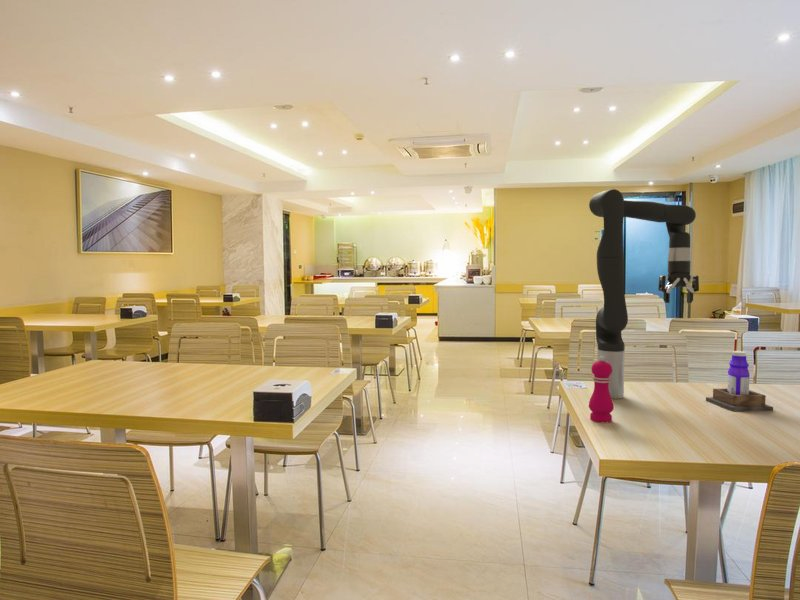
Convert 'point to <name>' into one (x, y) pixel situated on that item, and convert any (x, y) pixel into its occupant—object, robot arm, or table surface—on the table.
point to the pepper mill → (601, 392)
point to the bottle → (738, 374)
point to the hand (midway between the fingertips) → (678, 302)
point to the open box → (739, 401)
